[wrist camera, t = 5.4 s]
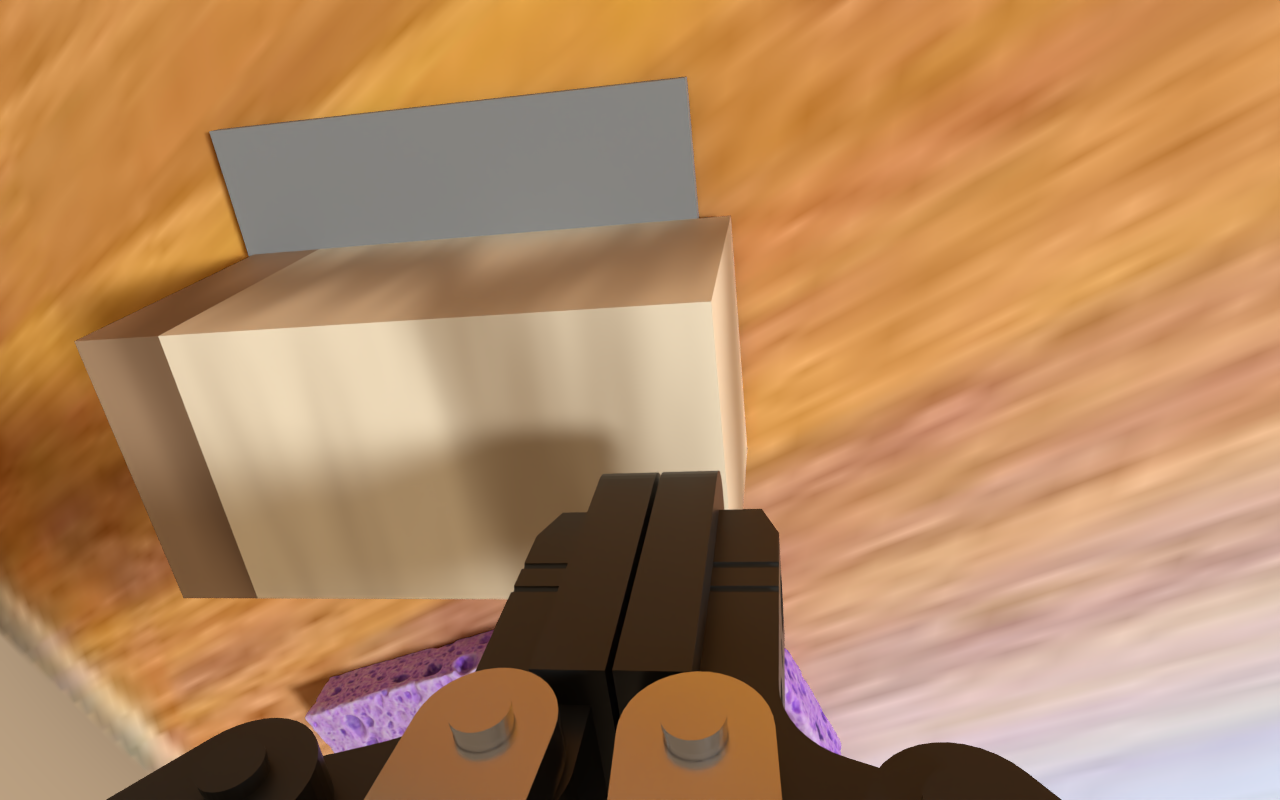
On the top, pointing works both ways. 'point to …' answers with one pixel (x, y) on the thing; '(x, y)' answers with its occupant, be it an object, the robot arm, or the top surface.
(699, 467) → the birch block
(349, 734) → the sponges
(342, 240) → the mat
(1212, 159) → the top surface
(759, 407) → the top surface
